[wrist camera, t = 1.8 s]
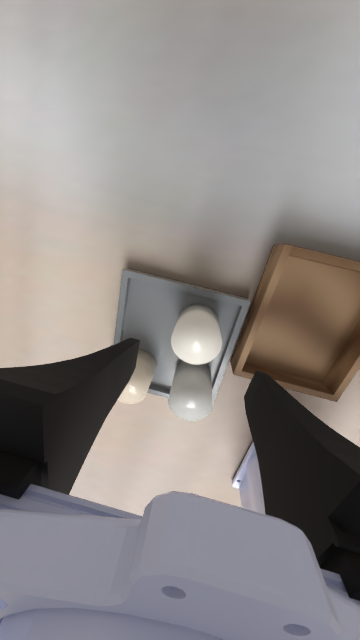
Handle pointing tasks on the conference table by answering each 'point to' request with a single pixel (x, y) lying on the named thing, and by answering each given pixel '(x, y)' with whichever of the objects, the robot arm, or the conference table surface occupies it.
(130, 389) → the beige stone
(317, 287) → the walnut tray
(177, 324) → the white stone
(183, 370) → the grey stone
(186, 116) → the conference table surface
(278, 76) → the conference table surface
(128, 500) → the conference table surface
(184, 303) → the slate tray
